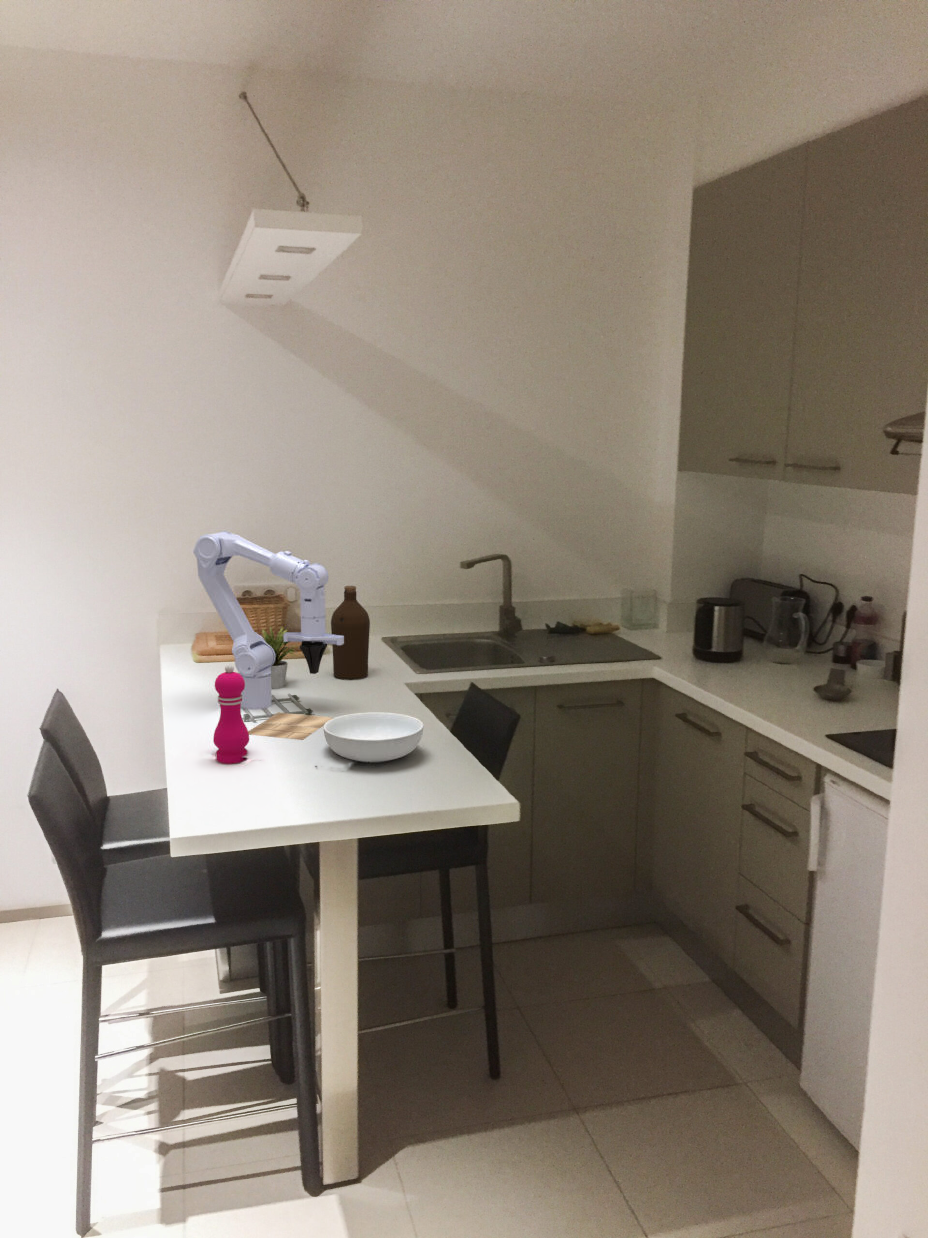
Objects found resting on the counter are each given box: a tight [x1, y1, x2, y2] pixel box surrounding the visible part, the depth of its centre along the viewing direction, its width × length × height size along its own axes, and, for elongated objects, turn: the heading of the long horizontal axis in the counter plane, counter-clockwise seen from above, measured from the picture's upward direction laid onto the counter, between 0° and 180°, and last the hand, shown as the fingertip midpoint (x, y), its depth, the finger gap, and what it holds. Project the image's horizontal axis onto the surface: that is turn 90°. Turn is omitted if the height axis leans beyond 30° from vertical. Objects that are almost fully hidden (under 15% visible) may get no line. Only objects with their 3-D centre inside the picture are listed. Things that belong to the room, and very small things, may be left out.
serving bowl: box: [323, 711, 425, 764], centre depth 212 cm, size 21×21×7 cm
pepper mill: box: [212, 664, 250, 765], centre depth 207 cm, size 7×7×20 cm
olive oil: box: [330, 585, 371, 681], centre depth 278 cm, size 11×11×25 cm
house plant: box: [261, 625, 296, 690], centre depth 265 cm, size 14×14×16 cm
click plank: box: [262, 712, 334, 729], centre depth 233 cm, size 14×8×1 cm, turn 75°
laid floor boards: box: [248, 722, 320, 741], centre depth 225 cm, size 14×9×1 cm, turn 75°
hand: (314, 672), depth 239 cm, fingers closed
